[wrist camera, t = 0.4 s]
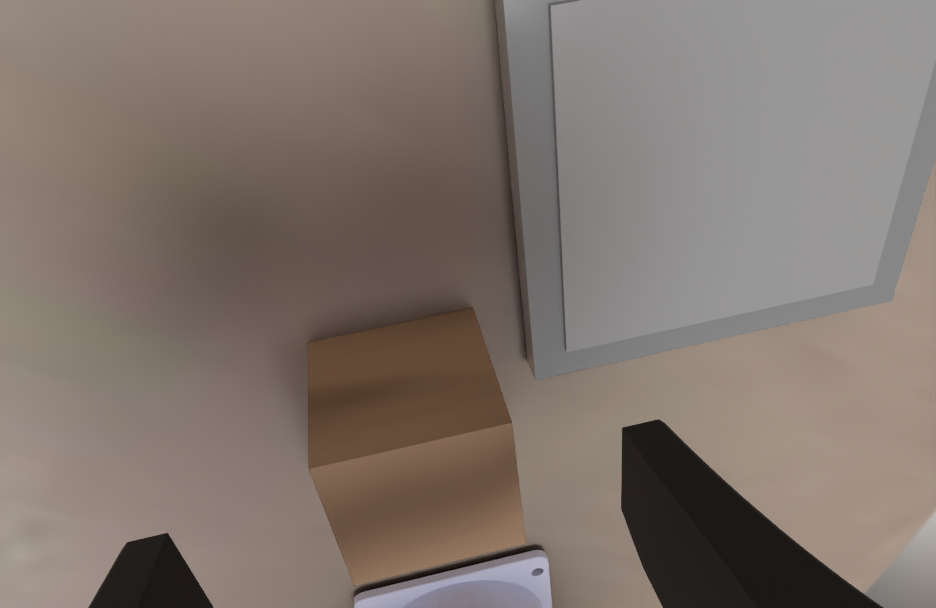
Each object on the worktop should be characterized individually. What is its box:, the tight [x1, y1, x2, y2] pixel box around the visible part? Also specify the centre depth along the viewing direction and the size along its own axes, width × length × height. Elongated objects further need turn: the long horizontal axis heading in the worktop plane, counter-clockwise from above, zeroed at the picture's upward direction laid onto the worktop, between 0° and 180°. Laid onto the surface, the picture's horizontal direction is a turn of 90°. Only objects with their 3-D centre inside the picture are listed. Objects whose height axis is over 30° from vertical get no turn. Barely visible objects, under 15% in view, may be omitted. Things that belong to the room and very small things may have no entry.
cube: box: [308, 308, 526, 586], centre depth 20 cm, size 5×5×5 cm
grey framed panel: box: [494, 0, 936, 380], centre depth 19 cm, size 12×12×1 cm
